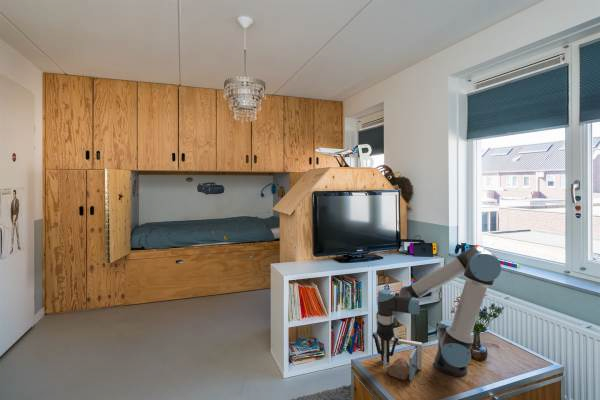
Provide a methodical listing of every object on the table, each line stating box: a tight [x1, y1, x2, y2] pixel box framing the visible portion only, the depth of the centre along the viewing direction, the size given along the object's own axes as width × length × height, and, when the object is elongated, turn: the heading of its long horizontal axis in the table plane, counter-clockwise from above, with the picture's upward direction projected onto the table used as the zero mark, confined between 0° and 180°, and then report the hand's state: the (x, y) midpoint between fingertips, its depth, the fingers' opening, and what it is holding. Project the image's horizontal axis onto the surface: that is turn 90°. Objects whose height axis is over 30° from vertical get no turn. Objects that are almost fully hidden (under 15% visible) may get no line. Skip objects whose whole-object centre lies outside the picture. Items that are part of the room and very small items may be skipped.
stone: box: [386, 357, 409, 381], centre depth 151 cm, size 12×9×10 cm
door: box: [408, 346, 418, 382], centre depth 151 cm, size 13×3×12 cm, turn 147°
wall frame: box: [380, 337, 423, 371], centre depth 159 cm, size 20×2×13 cm, turn 68°
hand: (385, 367), depth 155 cm, fingers closed
